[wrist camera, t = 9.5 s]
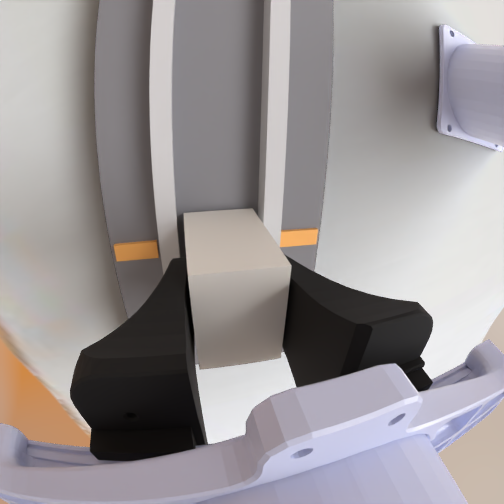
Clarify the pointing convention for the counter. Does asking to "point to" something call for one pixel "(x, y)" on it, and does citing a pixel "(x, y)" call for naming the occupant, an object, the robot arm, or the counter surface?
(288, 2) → the fader track
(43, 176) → the counter surface
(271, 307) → the fader tab
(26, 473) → the robot arm
